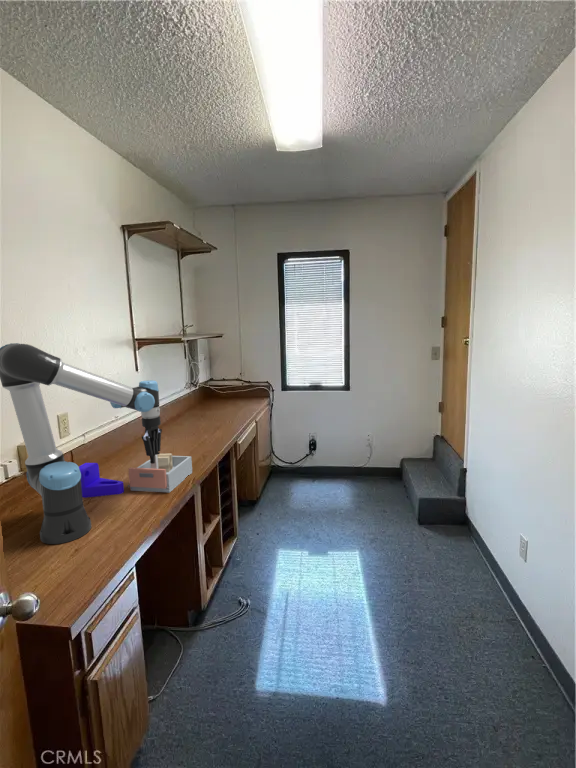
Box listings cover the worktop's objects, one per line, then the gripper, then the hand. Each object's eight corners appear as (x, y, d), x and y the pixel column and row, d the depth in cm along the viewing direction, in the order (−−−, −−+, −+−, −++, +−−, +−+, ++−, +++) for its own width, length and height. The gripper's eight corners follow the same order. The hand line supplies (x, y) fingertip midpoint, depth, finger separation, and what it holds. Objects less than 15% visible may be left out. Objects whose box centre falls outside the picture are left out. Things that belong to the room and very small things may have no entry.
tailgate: (163, 470, 158) (165, 469, 160) (127, 468, 161) (130, 467, 163) (165, 489, 159) (167, 487, 161) (129, 487, 162) (131, 485, 164)
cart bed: (168, 494, 160) (167, 475, 159) (128, 491, 163) (126, 473, 162) (192, 472, 184) (191, 456, 183) (157, 470, 187) (155, 455, 186)
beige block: (168, 472, 177) (167, 457, 176) (156, 472, 177) (154, 458, 176) (172, 467, 183) (171, 453, 182) (160, 467, 183) (159, 453, 182)
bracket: (75, 497, 159) (72, 470, 158) (90, 486, 170) (88, 461, 168) (116, 498, 158) (114, 470, 156) (129, 487, 168) (127, 461, 167)
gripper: (151, 420, 157) (155, 475, 160) (166, 413, 170) (169, 464, 173) (134, 420, 158) (138, 474, 162) (150, 413, 171) (154, 464, 174)
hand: (154, 469), depth 167 cm, fingers closed
